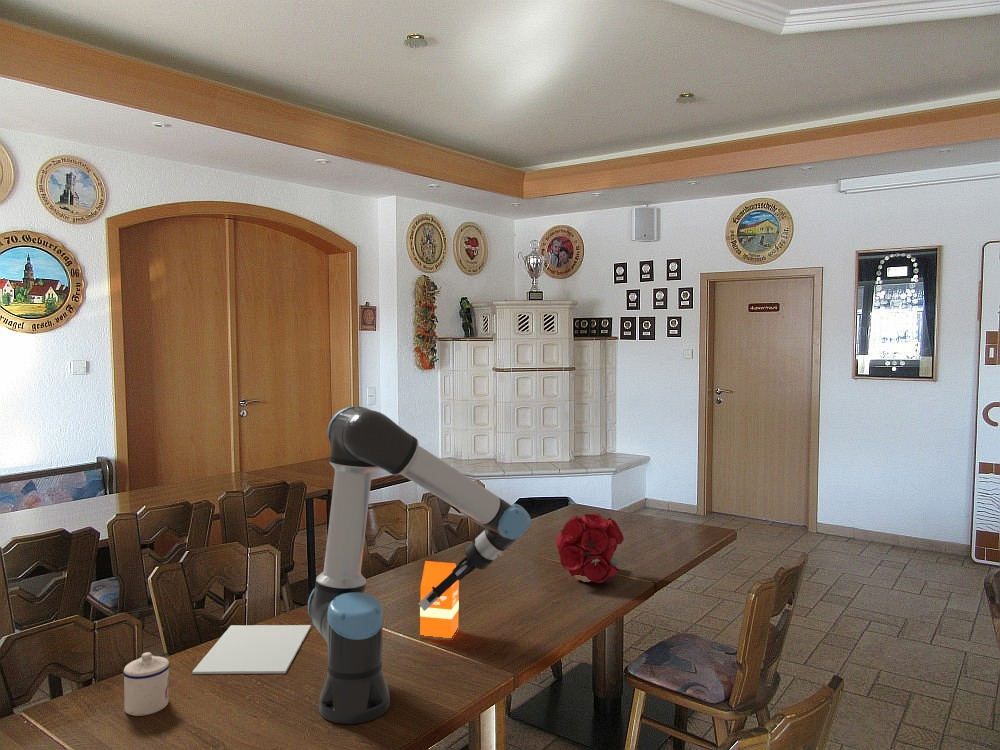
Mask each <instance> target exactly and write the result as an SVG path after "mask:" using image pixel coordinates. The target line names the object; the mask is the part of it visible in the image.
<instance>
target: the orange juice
mask: <svg viewBox="0 0 1000 750" xmlns="http://www.w3.org/2000/svg"><path fill="white" fill-rule="evenodd" d="M424 562H425V563H424V567H423V572H422V578H421V583H420V601H421V600H422V599H423V598H424V597H426V596H427V595H428V594H429V593H430V592H431V591H432V590H433V589H432V587H433V586H434V587H437V586H438V585H439V584H440V583H441V582H442V581H443V580H444V579H445V578H447V577H448V576H449V575H450V574H451V573H452V570H453V569H454V568H455V567H456V563H455V562H454V563H452V562H443V561H429V560H425V561H424ZM459 585H460V580H457V581H456V582H455V583H454V584H453V585H452V586H451V587H450V588H449V589H447V590H446V591H445V592H444V593H443V594H442V596H441V597H440V598H439V599H437V600H436V601H435V602H434V603H433V604H432V605H431V606H430V607H429V608H428V609H427V610H425V611H424V610H423V609H422V608H421V607H420V606H419V619H420V621H419V622H420V623H419V625H420V627H419V636H420V635H424V636H433V637H443V638H452V636H453V635H454V633H455V632H456V630H457V628H458V629H459V609H460V607H459V606H460V605H459V603H460V602H459V595H460V594H459V593H460V592H459V591H460V587H459ZM420 601H419V602H420Z"/></svg>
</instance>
